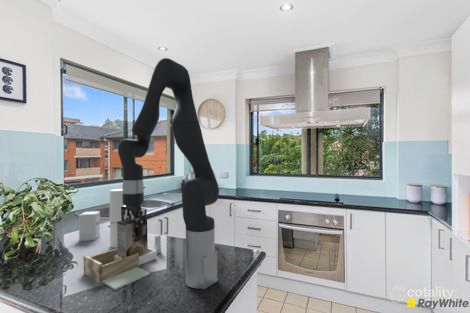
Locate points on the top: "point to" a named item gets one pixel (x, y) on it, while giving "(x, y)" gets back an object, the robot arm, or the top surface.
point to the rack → (108, 265)
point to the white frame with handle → (151, 253)
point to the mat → (125, 278)
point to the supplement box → (89, 226)
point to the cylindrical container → (115, 214)
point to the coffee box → (131, 239)
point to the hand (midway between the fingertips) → (133, 235)
